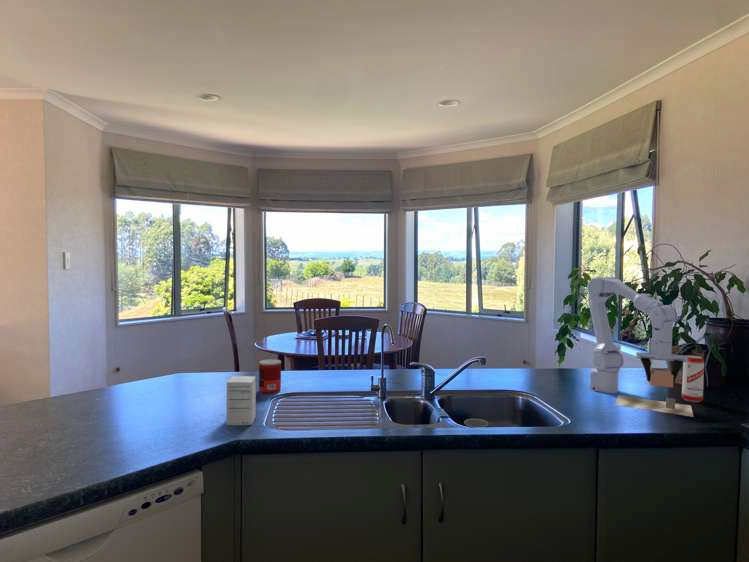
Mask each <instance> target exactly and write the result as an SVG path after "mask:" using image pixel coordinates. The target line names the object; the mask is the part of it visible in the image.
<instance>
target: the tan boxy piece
mask: <svg viewBox="0 0 749 562" xmlns="http://www.w3.org/2000/svg"><path fill="white" fill-rule="evenodd" d="M673 378H674V375H673V374H672V373H671V370H670V369H669V368H659V367H651V369H650V381H647V382H648V384H649V385H650V386H655V387H665V388H666V387H667V388H674V383H673Z"/></svg>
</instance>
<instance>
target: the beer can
mask: <svg viewBox="0 0 749 562" xmlns="http://www.w3.org/2000/svg"><path fill="white" fill-rule="evenodd" d="M685 356H687V363H686V362H682V363H683V366H682V379H681V380H682V385H681V398H682V399H683V400H684V401H686V402H689V401H690V403H700V402H702V401H703V396H704V378H705V377H704V372H705V371H704V370H705V361H704V359H703V357H702V356H700V355H699V356H698V355H692V354H691V355H690V354H689V355H685Z"/></svg>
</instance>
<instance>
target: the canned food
mask: <svg viewBox="0 0 749 562" xmlns="http://www.w3.org/2000/svg"><path fill="white" fill-rule="evenodd" d="M281 388H282V361H281V360H280V359H275V358H274V359H273V358H272V359H271V358H269V359H262V360H259V362H258V391H259V393H260V394H265V395H271V394H277V393H279V392H280V391H281Z"/></svg>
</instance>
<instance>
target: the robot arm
mask: <svg viewBox="0 0 749 562" xmlns="http://www.w3.org/2000/svg"><path fill="white" fill-rule="evenodd" d="M586 287H587V291H588V296H587V297H588V298H587V299H588V306H589V311H590V315H591V316H590V317H591V321H592V324H593V325H592V326H593V330H594V335H595V340H596V346H595V348H594V349H593V350H592V353H593V357H592V363H593V366H594V367H595V368H591V371H590V382H589V391H595V392H600V393H606V394H617V393H618V392H619V374H620V372H619V371H620V370H621V368H622V367H623V365H624V361H625V360H624V357H623V355H622V353H621V352H620V348H619V346H617V345H616V344H615V343H614V341H613V337H612V336H613V335H612V332H611V327H610V323H609V317H608V314H607V312H608V311H607V309H606V302H607V300H608V299H609V298H611V297H612V296H613V295H614V294H618V295H619V296H622V297H624V298H625V299H627V300H629V301H631V302H633V307H634V308H636V309H637V310H639V311H640V312H642V313H644V314H645V315H647V316H648V318H649V320H650V322H651V327H652V328H651V329H652V330H651V331H652V332H651V333H652V335H651V336H652V337H651V352H636V354H635V357H636V359H638V360H640V361H641V365H642V366H643V368H644V372H645V377H646V381H647V382H648V381H650V370H651V368H652V366H651V365H652V362H651V361H652V360H653V361H668V362H670V366H671V367H670V371H671V373H672V374H673V375H674V378H673V384H675V382H676V380H677V377H678V373H679V372H680V370H681V369H682V368H683V362H686V363H687V356H686V355H679V354H672V350H673V348H672V347H673V324H674V323H673V322H675V321H676V319H677V317H678V312H677V310H676V308H675V307H673V305H671V304H665V305H664V303H663V301H661V300H659V301H658V300H657V299H655V298H654V297H652V294H650V293H638V292H637V291H635V290H634V289H633V288H631V287H629V286H628V285H626V283H624V282H622V280H621V279H618V278H617V277H615V276H603V277H602V276H594V277H591V279H589V282H588V283H587V284H586Z"/></svg>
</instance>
